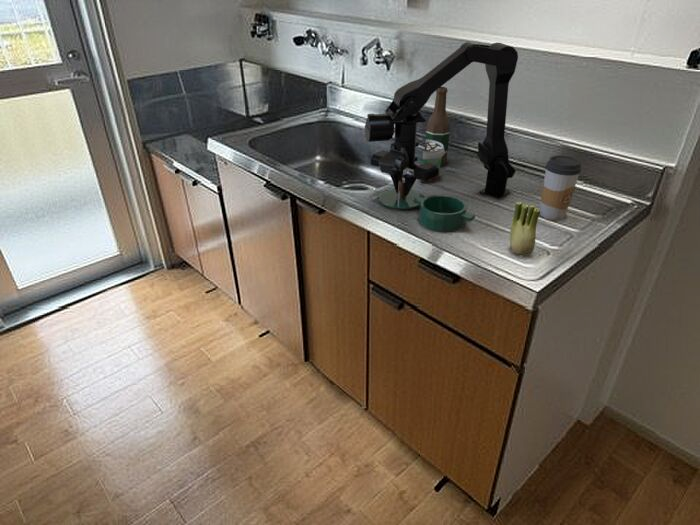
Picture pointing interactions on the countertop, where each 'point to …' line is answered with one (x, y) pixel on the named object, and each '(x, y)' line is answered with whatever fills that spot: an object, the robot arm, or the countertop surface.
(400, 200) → the lid
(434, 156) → the green food package
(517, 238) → the fennel bulb
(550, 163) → the coffee cup
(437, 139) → the beer bottle
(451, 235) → the countertop surface
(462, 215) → the pot
